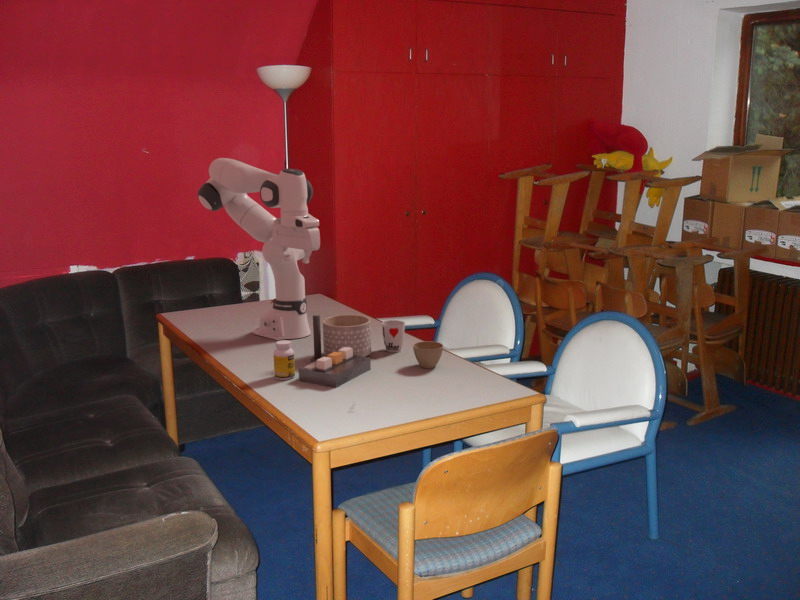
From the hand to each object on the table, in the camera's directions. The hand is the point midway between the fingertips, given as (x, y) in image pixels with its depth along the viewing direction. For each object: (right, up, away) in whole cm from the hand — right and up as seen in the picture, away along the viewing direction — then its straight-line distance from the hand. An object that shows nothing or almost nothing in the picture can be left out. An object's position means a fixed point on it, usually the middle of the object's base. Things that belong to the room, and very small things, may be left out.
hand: (296, 261), depth 248 cm
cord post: (+6, -34, +7) cm, 35 cm away
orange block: (+13, -32, -7) cm, 36 cm away
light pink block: (+10, -34, -12) cm, 37 cm away
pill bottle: (-3, -37, -8) cm, 38 cm away
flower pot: (+43, -35, +2) cm, 56 cm away
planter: (+16, -32, +14) cm, 39 cm away
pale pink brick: (+16, -31, -2) cm, 35 cm away
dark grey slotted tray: (+13, -37, -6) cm, 39 cm away
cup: (+32, -31, +19) cm, 48 cm away
